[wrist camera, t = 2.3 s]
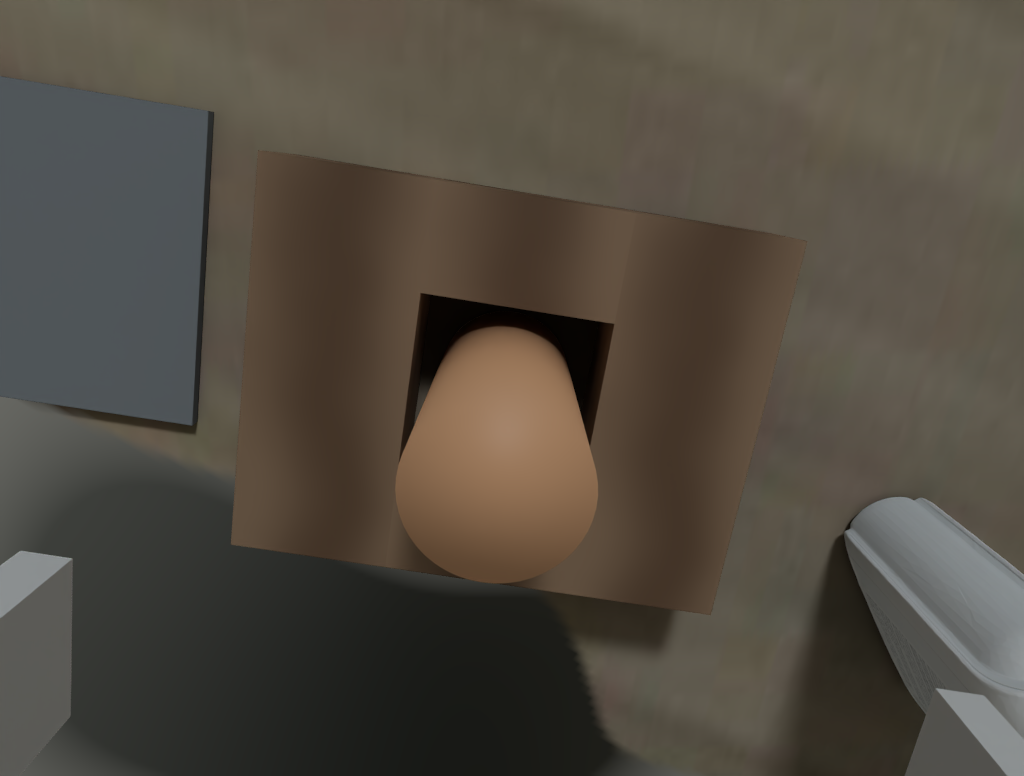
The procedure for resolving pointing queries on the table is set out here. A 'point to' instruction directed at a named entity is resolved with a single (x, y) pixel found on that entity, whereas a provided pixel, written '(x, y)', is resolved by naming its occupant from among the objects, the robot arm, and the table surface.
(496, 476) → the peg
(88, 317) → the mat
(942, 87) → the table surface
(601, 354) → the pocket block
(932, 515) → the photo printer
